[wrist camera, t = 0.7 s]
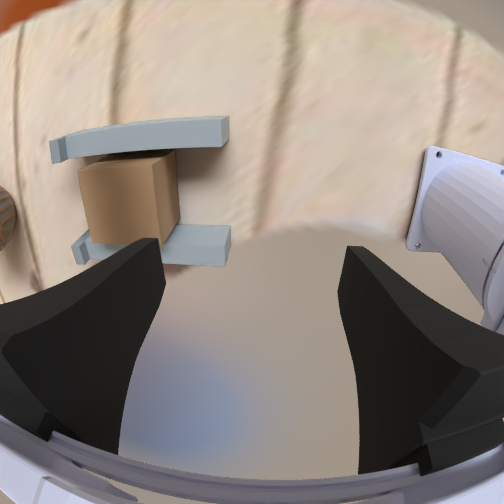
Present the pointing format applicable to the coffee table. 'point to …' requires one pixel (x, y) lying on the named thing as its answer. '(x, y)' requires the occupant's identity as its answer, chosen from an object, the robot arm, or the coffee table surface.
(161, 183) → the walnut block
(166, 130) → the pair of lipped bars
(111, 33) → the coffee table surface
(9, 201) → the vase
